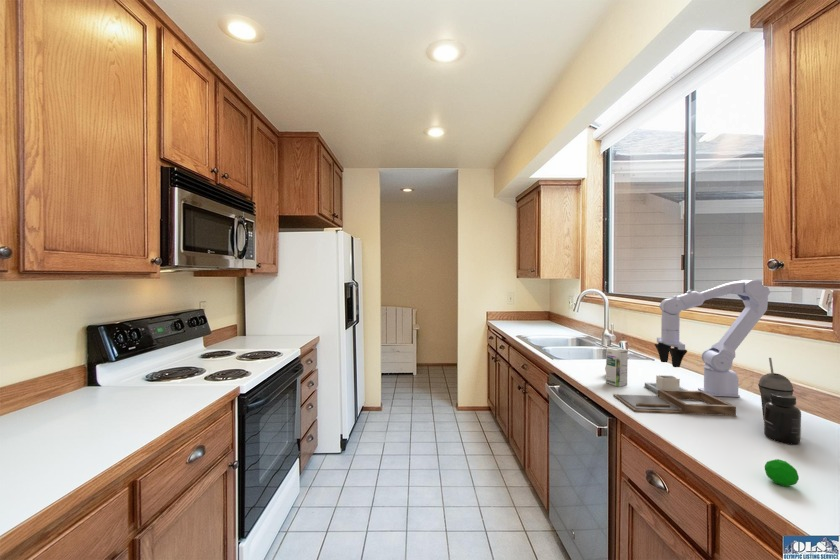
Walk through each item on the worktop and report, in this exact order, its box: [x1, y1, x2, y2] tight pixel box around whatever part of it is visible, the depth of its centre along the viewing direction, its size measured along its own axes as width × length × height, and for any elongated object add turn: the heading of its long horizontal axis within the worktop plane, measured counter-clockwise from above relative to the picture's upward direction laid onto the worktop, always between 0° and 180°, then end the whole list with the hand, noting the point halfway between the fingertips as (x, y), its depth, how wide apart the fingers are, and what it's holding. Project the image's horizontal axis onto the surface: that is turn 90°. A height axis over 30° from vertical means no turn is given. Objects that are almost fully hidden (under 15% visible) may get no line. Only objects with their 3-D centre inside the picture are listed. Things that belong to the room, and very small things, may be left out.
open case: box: [613, 390, 737, 417], centre depth 119 cm, size 30×15×3 cm, turn 85°
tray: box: [644, 382, 690, 395], centre depth 132 cm, size 11×11×2 cm
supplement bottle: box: [763, 392, 802, 446], centre depth 94 cm, size 7×7×12 cm
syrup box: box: [605, 346, 629, 387], centre depth 142 cm, size 6×6×14 cm
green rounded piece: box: [764, 458, 799, 487], centre depth 74 cm, size 5×5×5 cm
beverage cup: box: [758, 357, 794, 421], centre depth 101 cm, size 7×7×20 cm
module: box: [655, 374, 681, 390], centre depth 132 cm, size 6×4×5 cm, turn 84°
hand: (670, 364), depth 136 cm, fingers open, 7 cm apart
